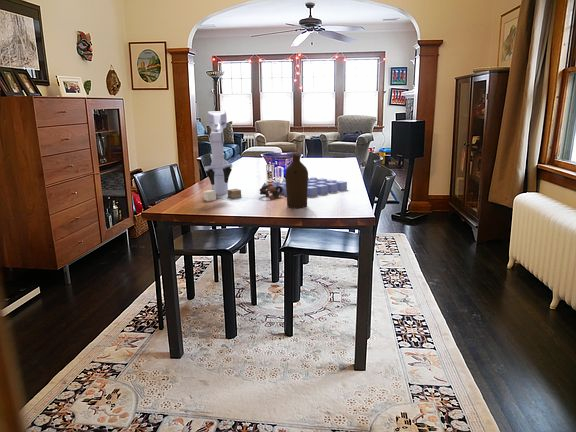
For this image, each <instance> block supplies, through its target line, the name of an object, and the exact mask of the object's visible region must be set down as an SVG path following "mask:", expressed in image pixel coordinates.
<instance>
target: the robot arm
mask: <svg viewBox="0 0 576 432" xmlns="http://www.w3.org/2000/svg"><path fill="white" fill-rule="evenodd" d="M227 121H228V119H227V111H226V110H221V111H220V110H218V111H216V110H214V111H209V110H208V111H207V123H208V126H209V128H210V133H209V141H210V147H211V160H212V161H211V163H210V165H206V166H204V171H205V173H206V175H207V177H208V179H209V181H210V185H211V190H214V191H216V196H217V195H218V196H223V195H228V190H229V184H228V183H229V178H230V175H231V173H232V168H233V163H230V162H229V161H227V160H226V159H225V158H224V157H225V155H224V154H225V153H224V152H225V151H224V142H225V139H224V138H225V136H224V129H226V128H227Z"/></svg>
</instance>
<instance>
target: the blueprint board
mask: <svg viewBox="0 0 576 432" xmlns="http://www.w3.org/2000/svg"><path fill="white" fill-rule="evenodd" d="M216 198H219V199H222V200H226V201H229V202H231V203H237V202H242V201H248V200H254V197H249V196H246V195H242V194H241V198H235V199H231V198H228V194H222V195H218V196H217V195H216Z"/></svg>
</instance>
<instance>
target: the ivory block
mask: <svg viewBox="0 0 576 432" xmlns="http://www.w3.org/2000/svg"><path fill="white" fill-rule="evenodd" d="M216 196H217V194H216V191H214V190H212V189H208V190H203V200H204V201H207V202H211V201H217V197H216Z"/></svg>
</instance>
